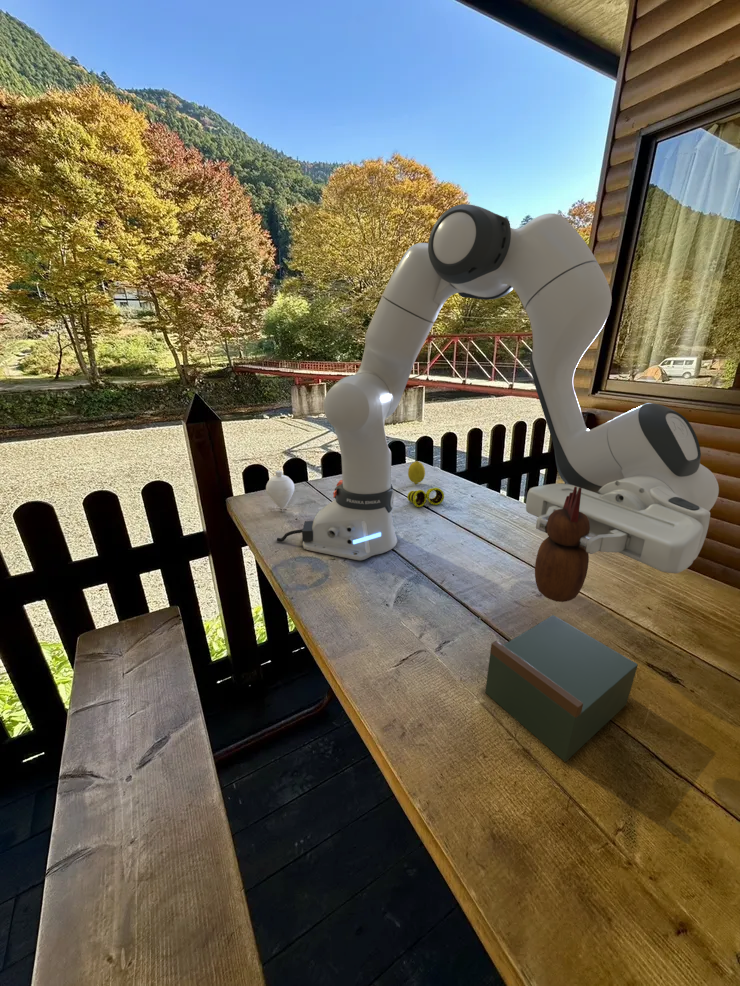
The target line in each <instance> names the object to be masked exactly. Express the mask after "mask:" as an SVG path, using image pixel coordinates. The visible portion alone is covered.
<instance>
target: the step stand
mask: <svg viewBox="0 0 740 986" xmlns="http://www.w3.org/2000/svg"><path fill="white" fill-rule="evenodd" d="M489 652H490V653H489V659H488V666H487V667H488V669H487V676H486V683H485V694H486V695H487V696H489V698H490V699H492V700H493V701H494V702H495V703H496V704H497V705H499V706H500V707H501V708H502V709H504V710H505V711H506V712H507V713H508V714H509V715H510V716H511V717H513V719H515V720H516V721H517V722H518V723H519V724H520V725H521V726H522V727H524V728H525V729H526V730H527V731H529V732H530V733H531V734H532V735H533V736H534V737H536V738H537V739H538V740H539V741H540V742H541V743H542V744H544V746H546V747H547V748H548V749H550V750H551V752H553V753H554V754H555V755H556V756H558V758H559V759H561V760H562V761H563V762H565V763H567V761H568V760H569V759H571V758H572V756H574V755H575V754H576V753H577V752H578V751H579V750H581V748H582V747H584V745H586V743H587V742H589V741H590V740H591V739H592V738H593V737H594V736H595V735H596V734H597V733H598V732H599V731H601V729H603V727H604V726H606V725H607V724H608V723H609V722H610V721H611V720H612V719H613V718H614V717H615V716H616V715H617V714H618V713H620V711H622V710H623V709H624V708H625V707H626V706H627V704H628V699H629V697H630V693H631V690H632V687H633V683H634V680H635V676H636V673H637V670H638V666H639V664H638V663H636V662H635V661H633V660H631V659H630V658H628V657H626V656H624V655H623V654H622V653H620V652H618V651H616V650H615V649H612V648H611V647H609V646H608V645H607V644H606V645H605V644H604V643H603V642H601V641H599V640H597V639H595V638H594V637H592V636H590V635H588V634H587V633H586V632H583V631H582V630H580V629H578V628H577V627H575V626H573V625H571V624H570V623H568V622H566V621H564V620H563V619H561V618H560V617H558V616H556V615H554V614H552V615H550V616H548V617H547V618H545V619H544V620H542V621H540V622H539V623H537V624H536V625H534V626H532V627H531V628H529V629H527V630H525V631H524V632H523V633H521V634H518V635H517V636H516V637H514V638H512V639H511V640H509V641H508V642H506V643H504V644H502V643H500V642H499V641H498V640H494V641H493V642H491V643H490V651H489Z"/></svg>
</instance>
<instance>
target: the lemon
mask: <svg viewBox="0 0 740 986" xmlns="http://www.w3.org/2000/svg"><path fill="white" fill-rule="evenodd" d="M407 470H408V471H407V476H408V480H410V481H411V482H412V483H413V484H415V485H418V484H419V483H422V482H423V481H424V478H425V477H426V468H425V465H424V464H423V463H421V461H418V460H416V461H414V462H412V463H410V465H409V466H408V469H407Z"/></svg>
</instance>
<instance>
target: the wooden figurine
mask: <svg viewBox="0 0 740 986" xmlns="http://www.w3.org/2000/svg"><path fill="white" fill-rule="evenodd" d="M580 498H581V488H579V489H578V492H577V487H574V490H573V493H570V494H569V496H567V497H566V500H565V503H564V507H563V509H558V510H555V511H554V512H553V513H551V514H550V516H549V518H548V522H547V528H546V531H547V533H546V534H547V537H546V538H545V539H544V540H543V541H542V542H541V544H540V546H539V548H538V551H537V553H536V558H535V563H534V579H535V585H536V588H537V589H538V592H539V593H540V594H541V595H542V596H543V597H545V598H547V599H549V600H550V601H553V602H559V603H565V602H569V601H572V600H574V599H575V598H576V597H577V596H578V595H579V594H580V592H581V590H582V588H583V586H584V583H585V581H586V577H587V575H588V569H589V561H590V556H589V555H590V554H589V553H587V552H585V551H583V550H581V549H579V547H578V546H579V544H580V538H581V536H583V535H587V533H589V531H590V523H589V520H588V517H587V516H586V515H585V514H583V513H582V512H579V507H580Z"/></svg>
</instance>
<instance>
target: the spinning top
mask: <svg viewBox="0 0 740 986" xmlns="http://www.w3.org/2000/svg"><path fill="white" fill-rule="evenodd" d="M274 472H275V475H273V476H271V477H270V478H269V480H268V481H267V483H266V485H265V490H266V494H267V495H268V497H269V498H270V500H271V501H272V502H273V503H274V504H275V505H276V507H278V508H279V509H280V510H281V512H284V509H285V507H286V506H287V505H288V503H289V502H290V501H291V499H292V497H293V495H294V492H295V483H294V481H293V480H292V479H291V478H290V477H289V476H288V475H285V474H283V470H280V469H278V470H275V471H274Z"/></svg>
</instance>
